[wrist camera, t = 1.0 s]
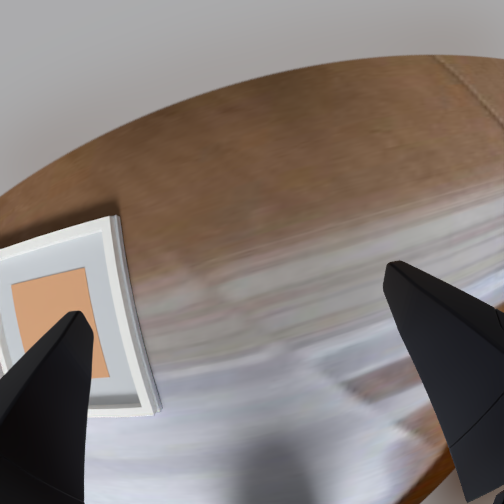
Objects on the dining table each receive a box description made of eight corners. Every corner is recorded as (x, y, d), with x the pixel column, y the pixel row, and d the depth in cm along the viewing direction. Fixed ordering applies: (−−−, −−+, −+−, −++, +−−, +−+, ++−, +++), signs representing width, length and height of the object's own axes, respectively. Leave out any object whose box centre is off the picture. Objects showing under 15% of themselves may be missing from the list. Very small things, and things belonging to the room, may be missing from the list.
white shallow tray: (162, 408, 22) (157, 417, 20) (26, 408, 21) (17, 414, 19) (119, 216, 23) (111, 212, 21) (-9, 255, 22) (-20, 254, 20)
